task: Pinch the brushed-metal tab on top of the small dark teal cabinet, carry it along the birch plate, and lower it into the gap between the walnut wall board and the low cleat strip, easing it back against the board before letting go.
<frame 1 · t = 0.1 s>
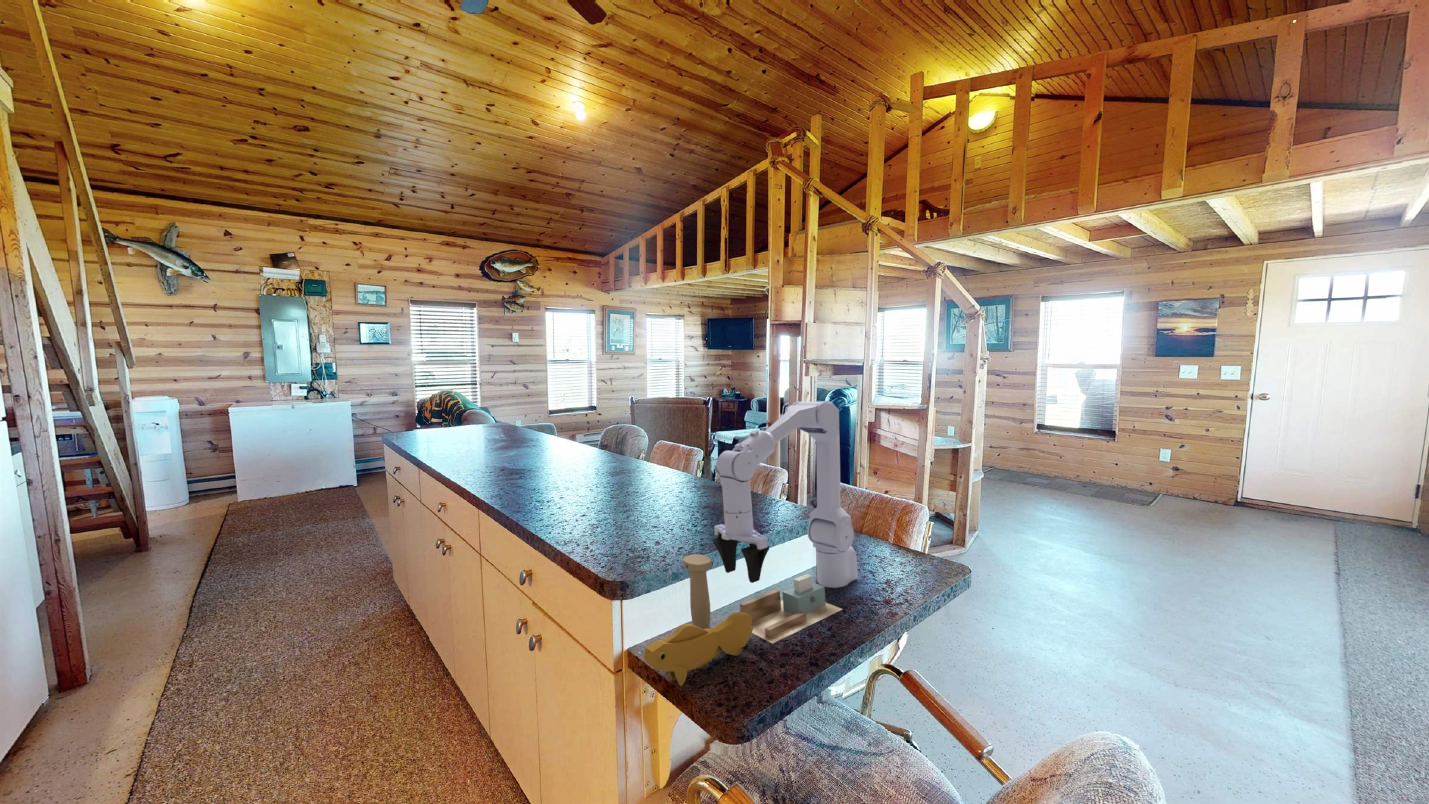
hand: (742, 576, 106), 10 cm above the worktop, tool pointing down, fingers open, 7 cm apart
handle: (702, 634, 103), on the worktop
decorative fish: (704, 670, 91), on the worktop
cleat board: (788, 620, 107), on the worktop
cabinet: (804, 607, 110), point 1 cm above the worktop, touching cleat board
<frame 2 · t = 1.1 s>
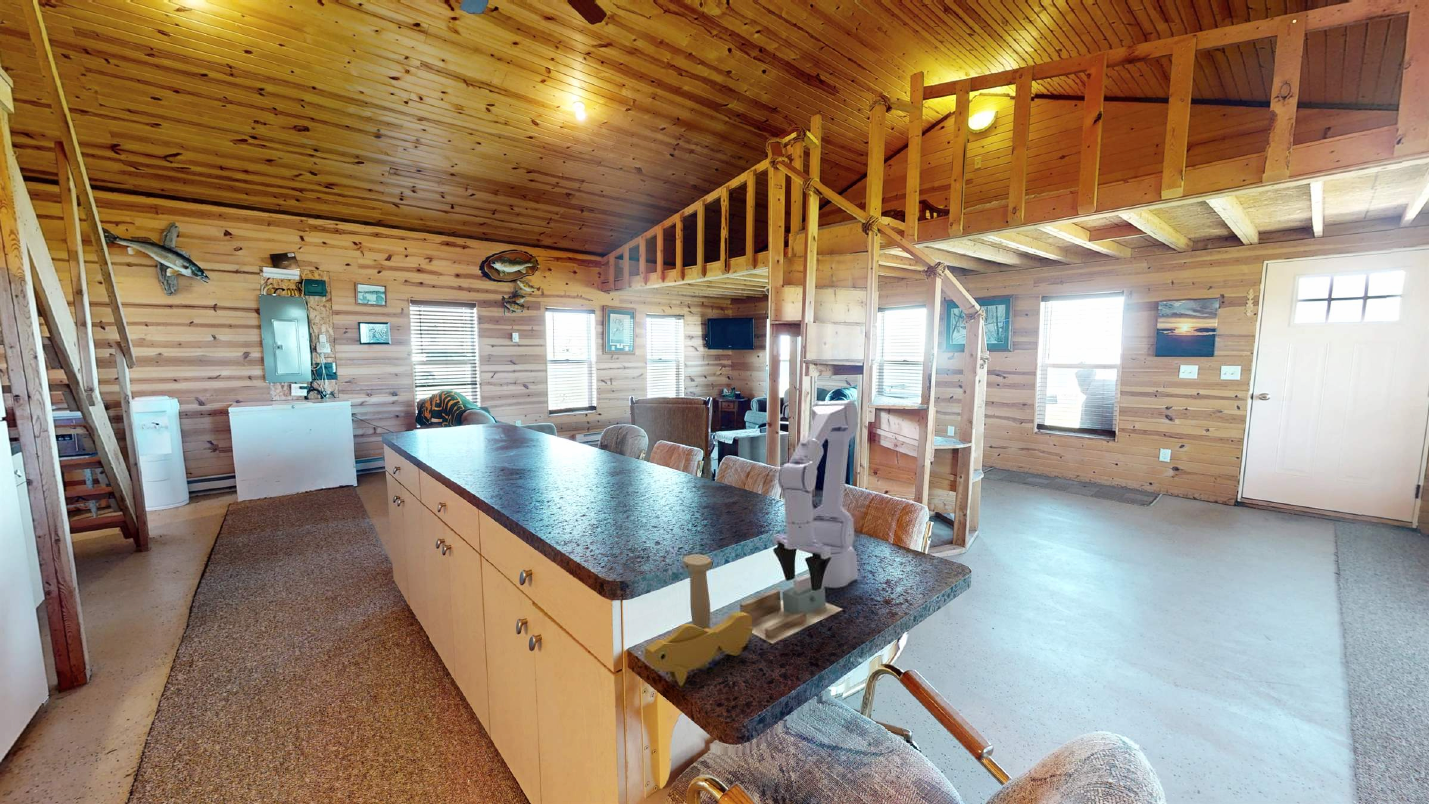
hand: (803, 584, 109), 6 cm above the worktop, tool pointing down, fingers open, 7 cm apart
nothing on the worktop moved.
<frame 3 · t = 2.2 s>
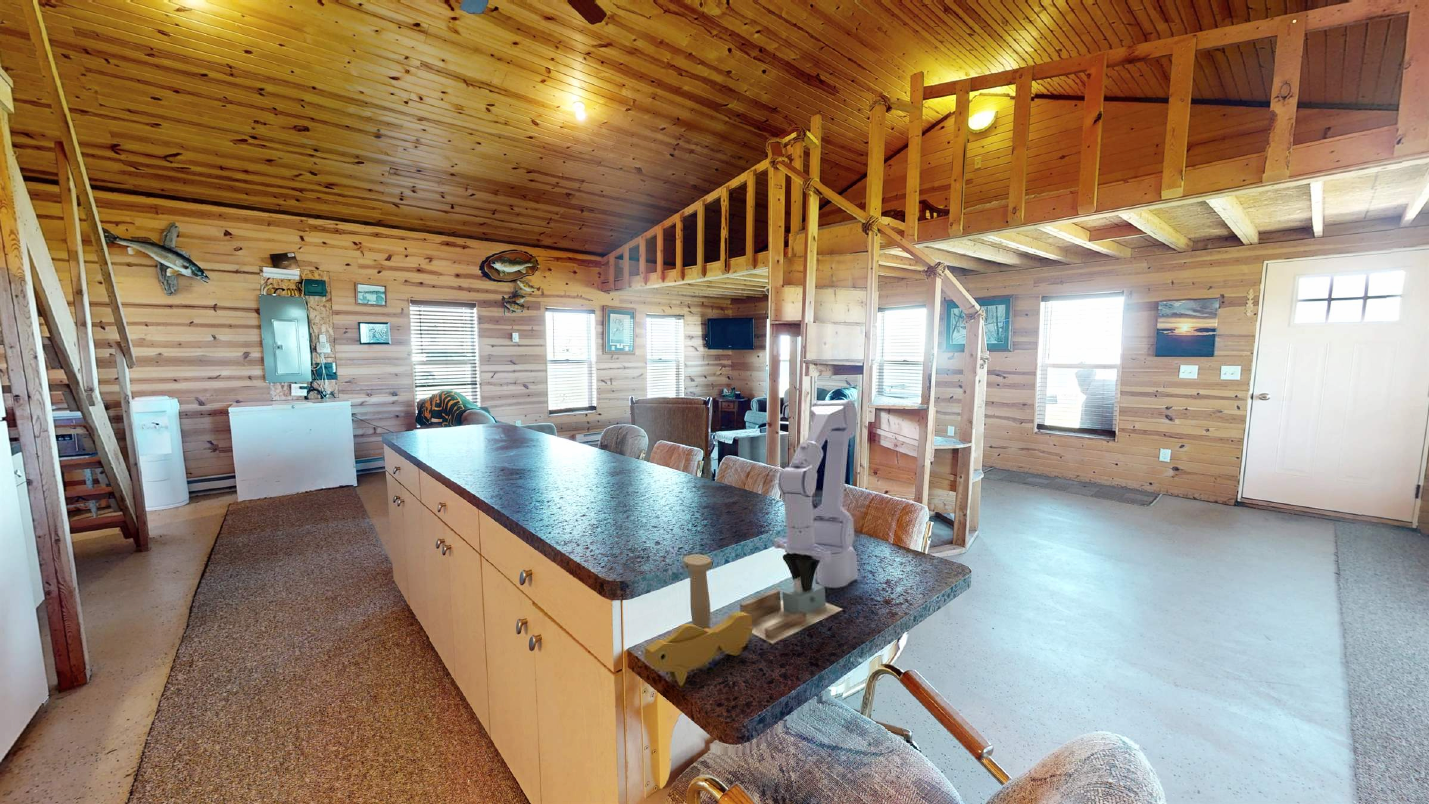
hand: (803, 588, 109), 5 cm above the worktop, tool pointing down, fingers closed on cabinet
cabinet: (804, 607, 110), point 1 cm above the worktop, touching cleat board, gripper
everything else where it was.
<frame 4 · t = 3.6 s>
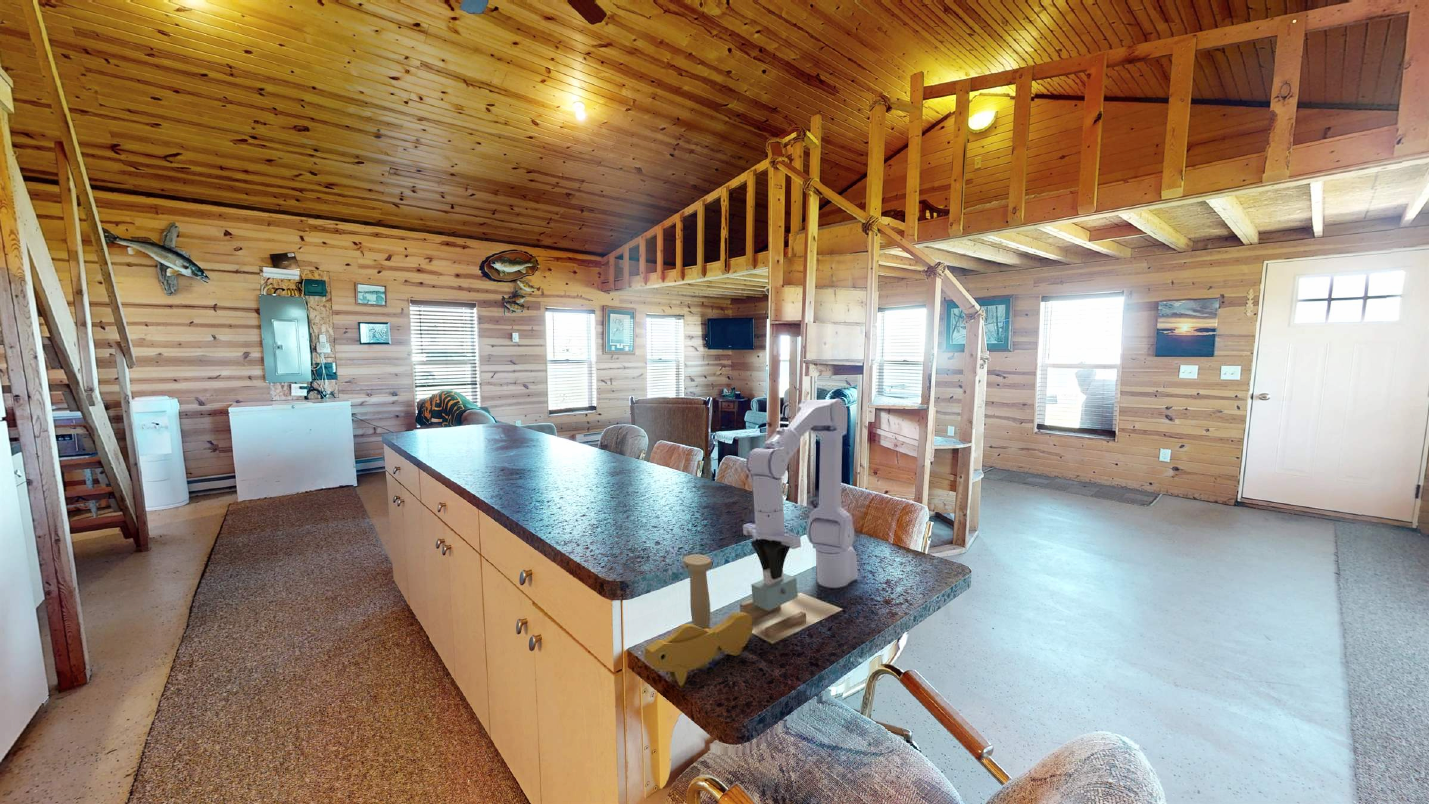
hand: (773, 576, 103), 10 cm above the worktop, tool pointing down, fingers closed on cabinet
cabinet: (775, 600, 104), point 5 cm above the worktop, touching gripper
everything else where it was.
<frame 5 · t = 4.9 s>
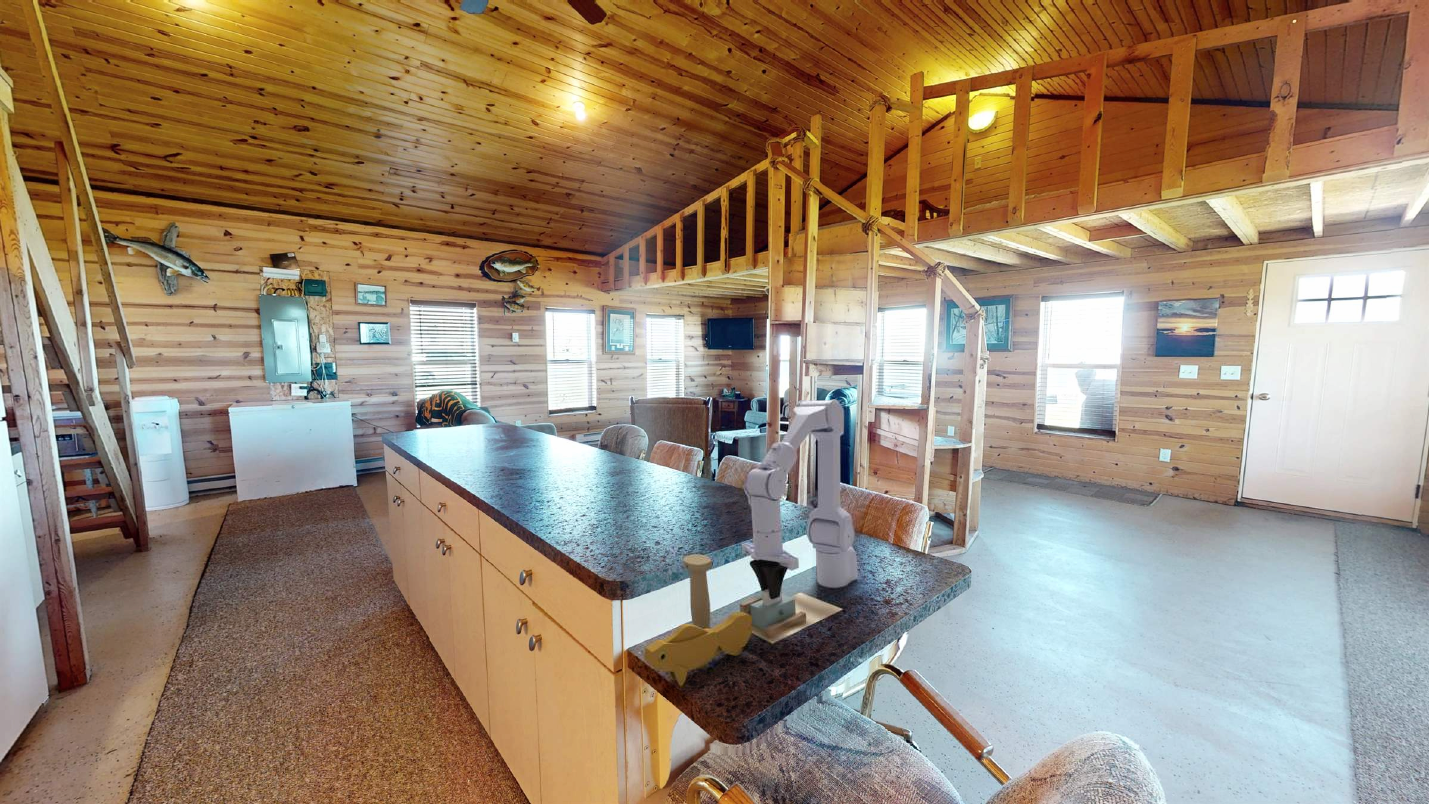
hand: (771, 596, 104), 6 cm above the worktop, tool pointing down, fingers closed on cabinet
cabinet: (774, 621, 104), point 1 cm above the worktop, touching cleat board, gripper
everything else where it was.
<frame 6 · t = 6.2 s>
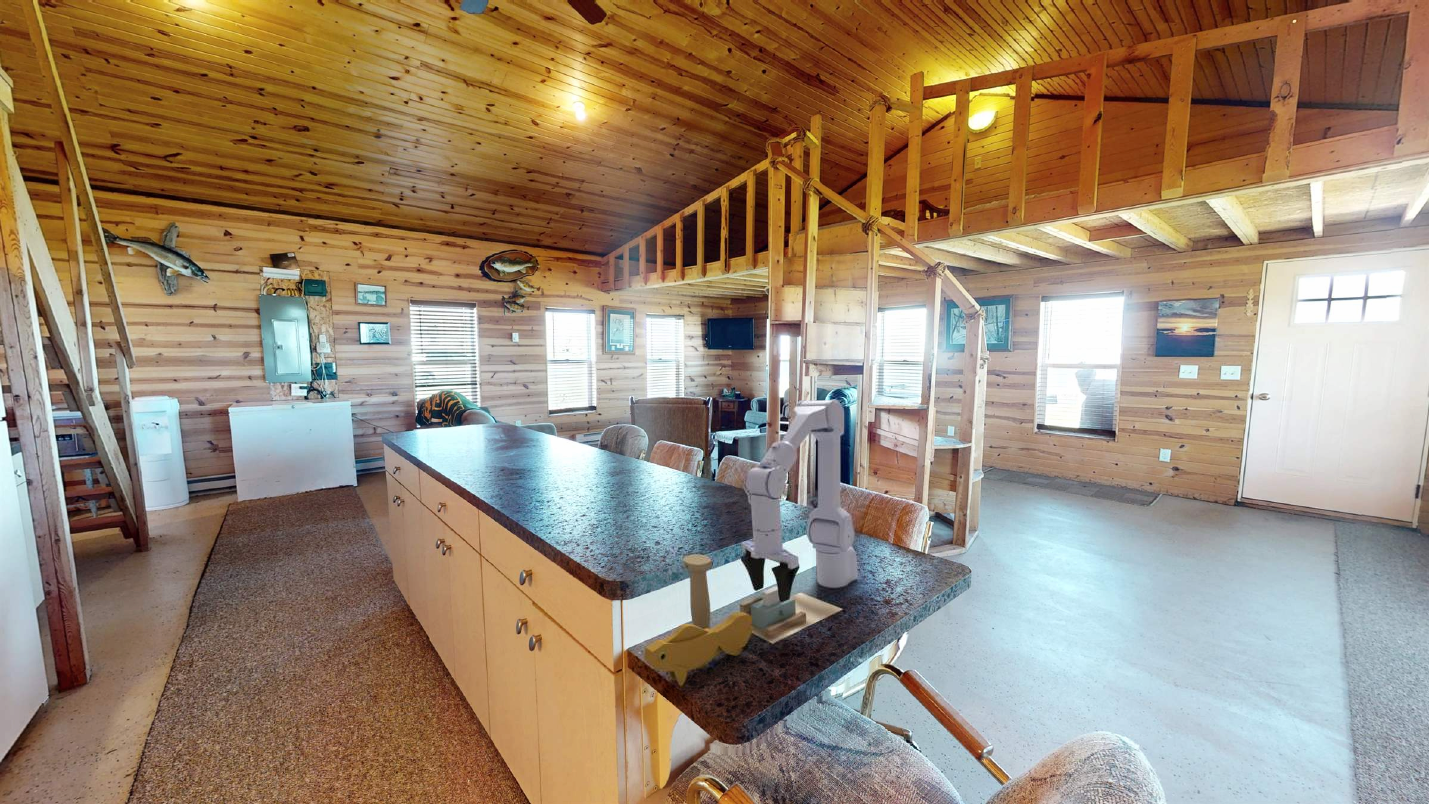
hand: (771, 594, 104), 7 cm above the worktop, tool pointing down, fingers open, 7 cm apart
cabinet: (774, 621, 104), point 1 cm above the worktop, touching cleat board
everything else where it was.
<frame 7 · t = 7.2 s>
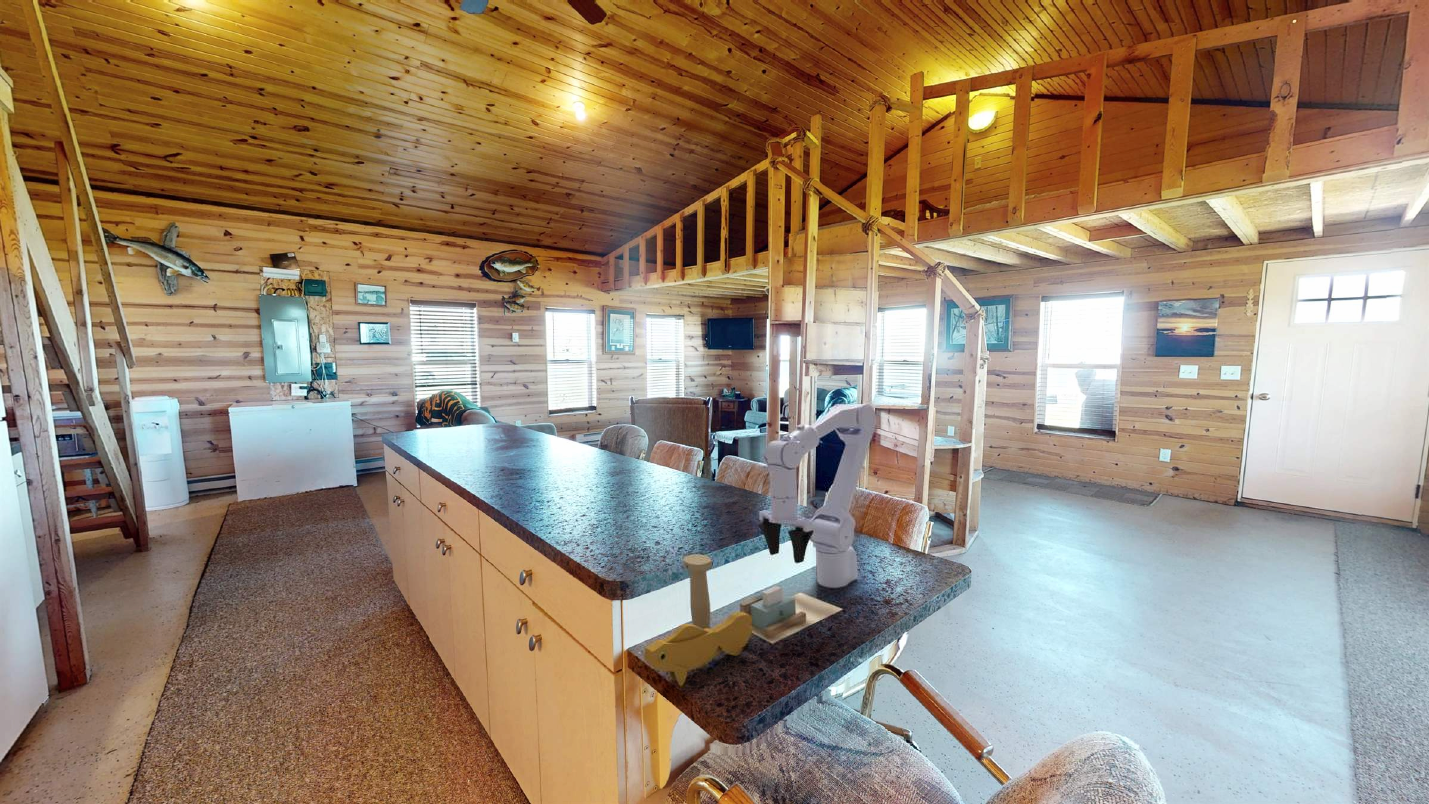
hand: (786, 557, 113), 10 cm above the worktop, tool pointing down, fingers open, 7 cm apart
nothing on the worktop moved.
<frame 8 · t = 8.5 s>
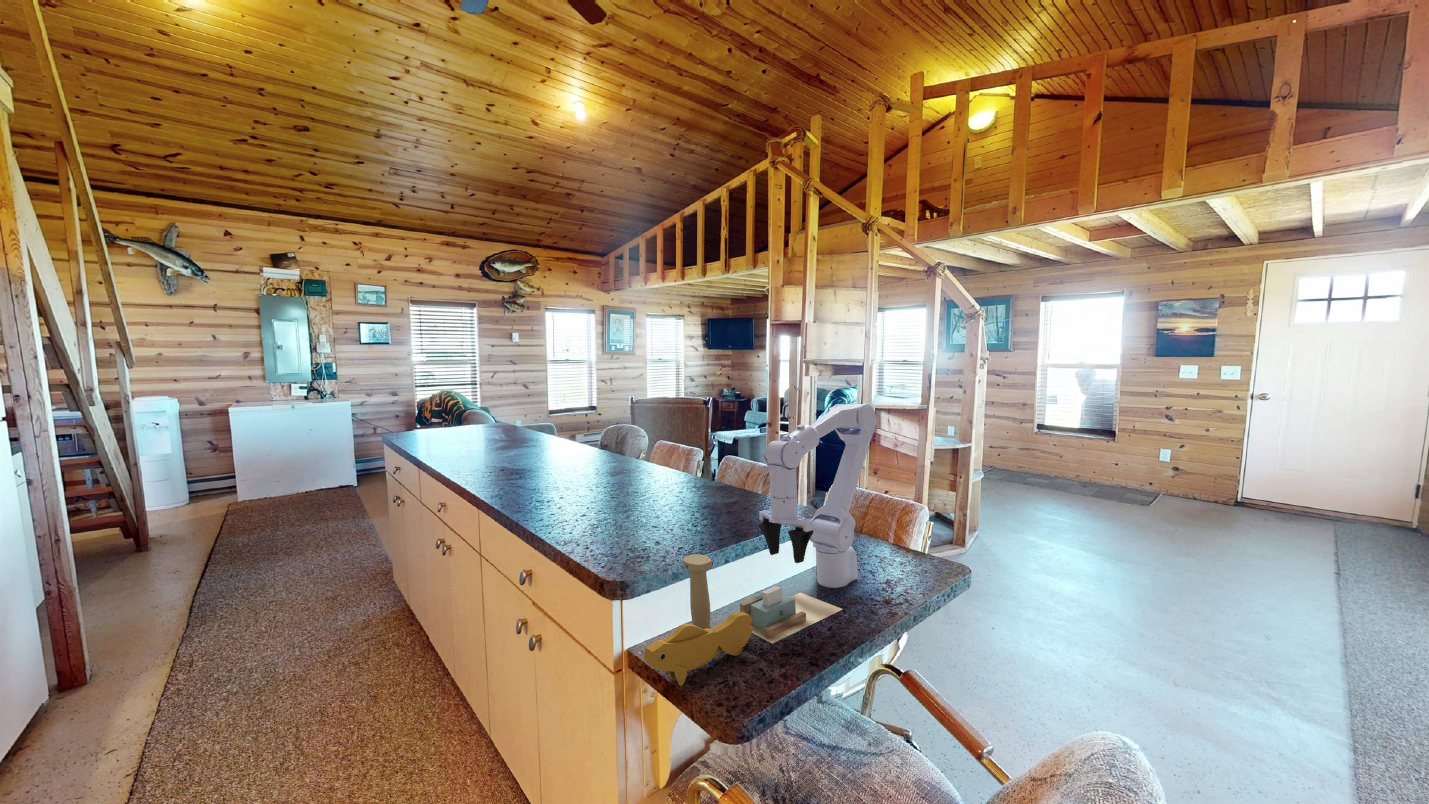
hand: (786, 557, 113), 10 cm above the worktop, tool pointing down, fingers open, 7 cm apart
nothing on the worktop moved.
at the end: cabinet 0.2 cm from the target spot on the cleat board, point 1.0 cm above the cleat board's base; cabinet tilted 0°; the gripper is holding nothing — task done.
